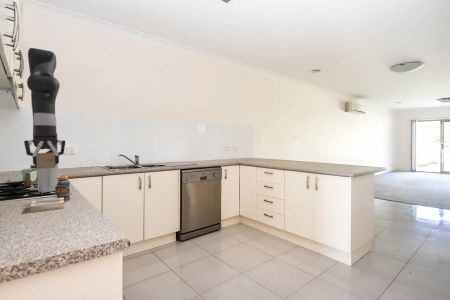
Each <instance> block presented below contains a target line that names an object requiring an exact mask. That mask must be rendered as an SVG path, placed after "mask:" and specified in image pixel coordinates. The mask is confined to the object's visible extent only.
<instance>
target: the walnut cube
mask: <svg viewBox="0 0 450 300" xmlns="http://www.w3.org/2000/svg"><path fill="white" fill-rule="evenodd" d="M36 159H37V169H43V168H55V153H46V152H38V153H37V154H36Z"/></svg>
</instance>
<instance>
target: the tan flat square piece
mask: <svg viewBox="0 0 450 300" xmlns="http://www.w3.org/2000/svg"><path fill="white" fill-rule="evenodd" d="M29 206H30V207H29V208H30V209H29V212H30V213H38V212H43V211H52V210H60V209H61V210H62V209H64V208H65V201H64V197H62V198H55V197H53V198H46V199H45V198H44V199H39V200H37V199H36V200H32V201H31V204H30V205H29Z"/></svg>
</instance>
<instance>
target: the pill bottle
mask: <svg viewBox="0 0 450 300" xmlns="http://www.w3.org/2000/svg"><path fill="white" fill-rule="evenodd" d="M68 179H69V177H68V176H67V175H60V176H59V175H58V177H57V180H58V181H57V182H55V191H54V198H62V197H64V202H69V201H70V200H71V199H72V198H71V181H70V180H68Z"/></svg>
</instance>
